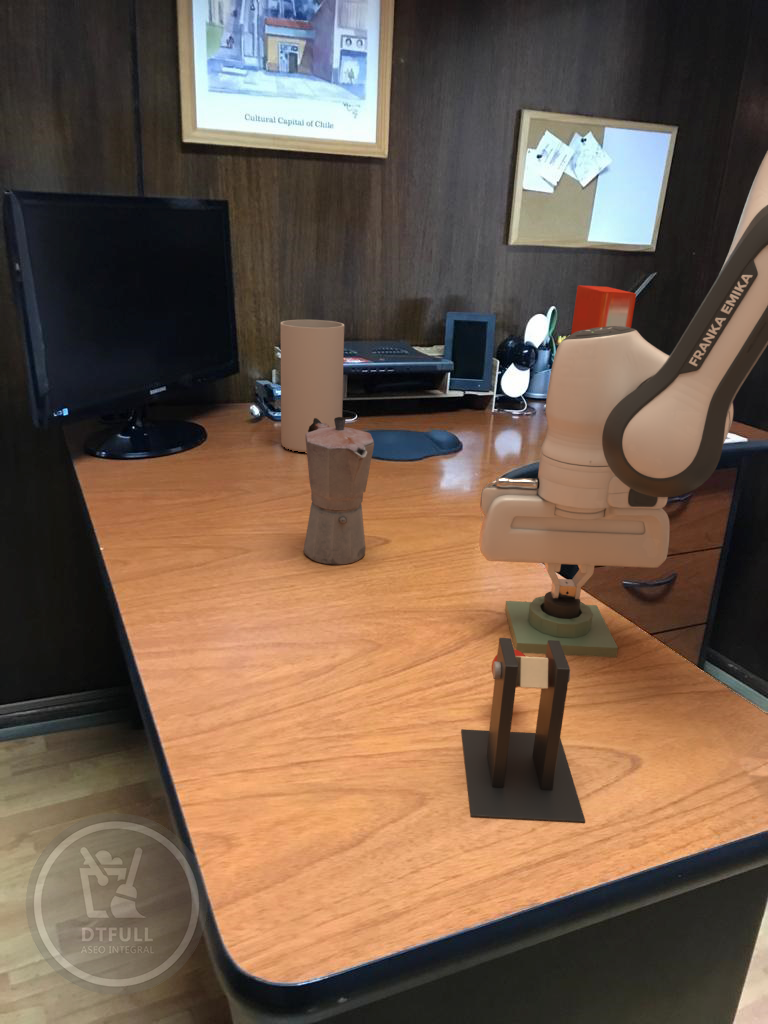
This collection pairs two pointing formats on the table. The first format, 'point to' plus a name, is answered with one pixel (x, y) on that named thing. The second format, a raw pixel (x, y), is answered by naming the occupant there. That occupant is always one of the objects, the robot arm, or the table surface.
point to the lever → (530, 671)
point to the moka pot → (337, 491)
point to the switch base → (522, 750)
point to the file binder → (602, 308)
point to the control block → (559, 630)
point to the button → (561, 607)
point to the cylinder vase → (310, 377)
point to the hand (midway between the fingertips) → (564, 596)
